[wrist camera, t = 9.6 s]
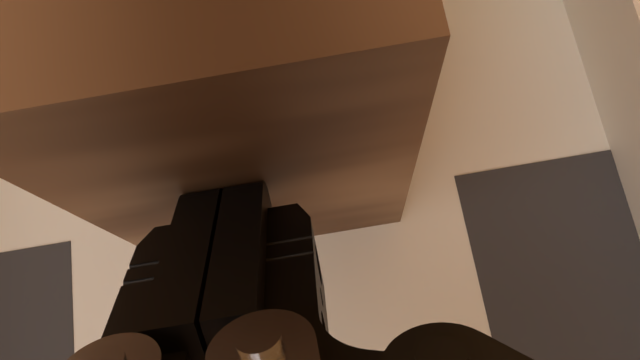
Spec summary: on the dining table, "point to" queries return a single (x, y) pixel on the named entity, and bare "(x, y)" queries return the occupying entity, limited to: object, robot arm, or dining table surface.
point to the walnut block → (217, 104)
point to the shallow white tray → (428, 168)
